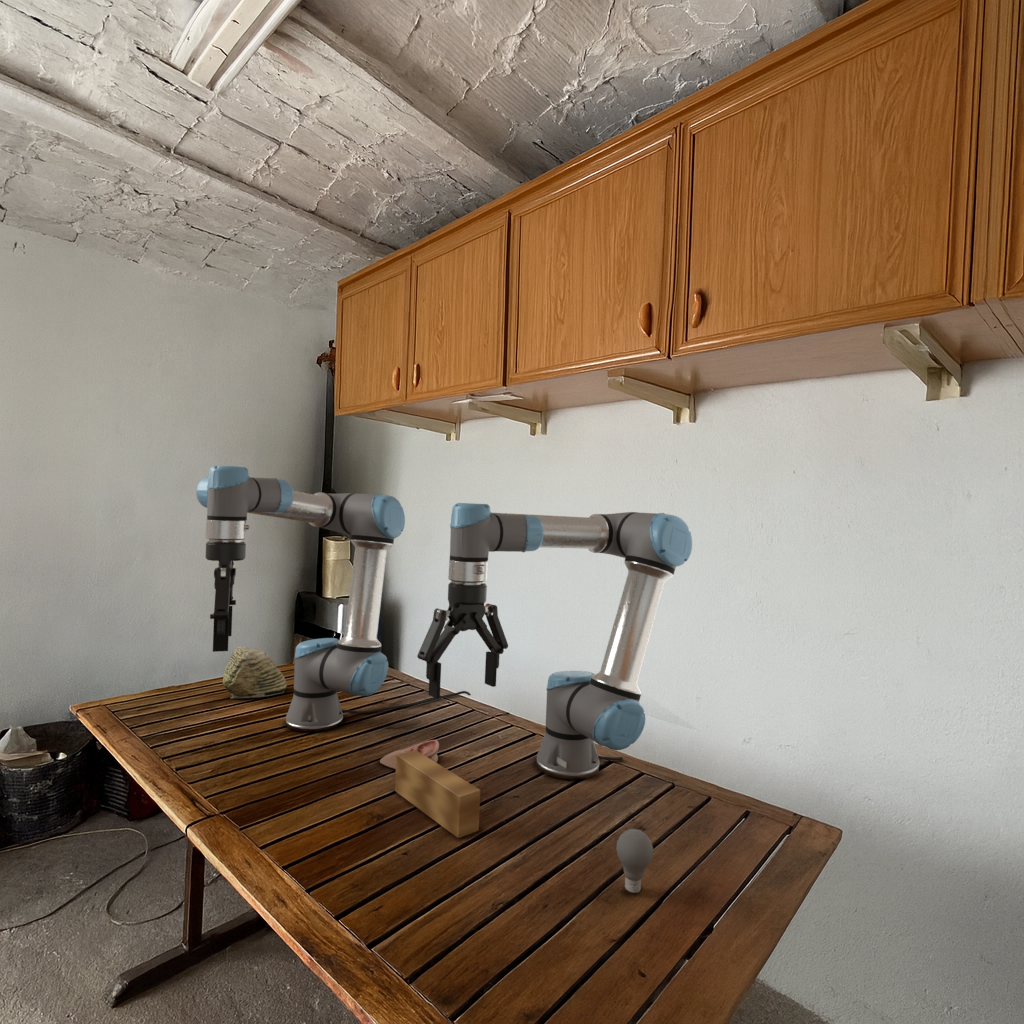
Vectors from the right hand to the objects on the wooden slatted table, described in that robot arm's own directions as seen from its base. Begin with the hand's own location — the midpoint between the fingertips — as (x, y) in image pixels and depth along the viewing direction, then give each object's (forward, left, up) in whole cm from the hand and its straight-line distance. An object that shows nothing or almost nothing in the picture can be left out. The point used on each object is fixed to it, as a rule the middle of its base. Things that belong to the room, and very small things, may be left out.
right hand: (463, 690), depth 124 cm
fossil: (+48, -90, -27) cm, 105 cm away
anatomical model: (+6, -32, -27) cm, 42 cm away
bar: (+3, -7, -27) cm, 28 cm away
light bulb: (-25, +26, -27) cm, 45 cm away
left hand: (+47, -20, +5) cm, 51 cm away
